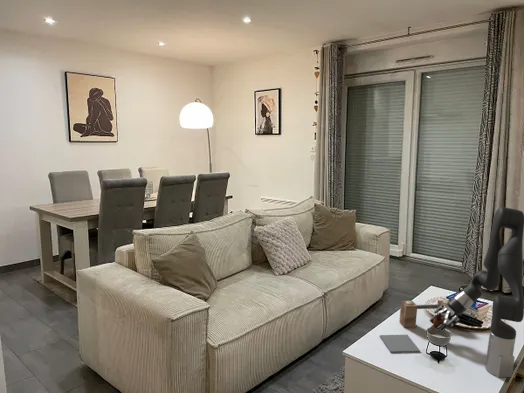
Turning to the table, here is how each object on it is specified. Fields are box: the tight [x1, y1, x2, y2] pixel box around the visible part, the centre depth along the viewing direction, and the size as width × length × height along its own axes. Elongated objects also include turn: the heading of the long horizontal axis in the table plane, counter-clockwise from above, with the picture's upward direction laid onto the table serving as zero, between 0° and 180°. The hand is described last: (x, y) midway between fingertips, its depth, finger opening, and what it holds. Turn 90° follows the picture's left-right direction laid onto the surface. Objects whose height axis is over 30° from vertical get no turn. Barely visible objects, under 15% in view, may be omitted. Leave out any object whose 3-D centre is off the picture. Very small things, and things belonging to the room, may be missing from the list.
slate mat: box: [379, 334, 421, 354], centre depth 186 cm, size 14×14×1 cm
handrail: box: [398, 299, 452, 329], centre depth 204 cm, size 6×26×13 cm, turn 94°
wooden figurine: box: [429, 312, 446, 331], centre depth 189 cm, size 7×6×15 cm
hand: (434, 325), depth 189 cm, fingers open, 7 cm apart
